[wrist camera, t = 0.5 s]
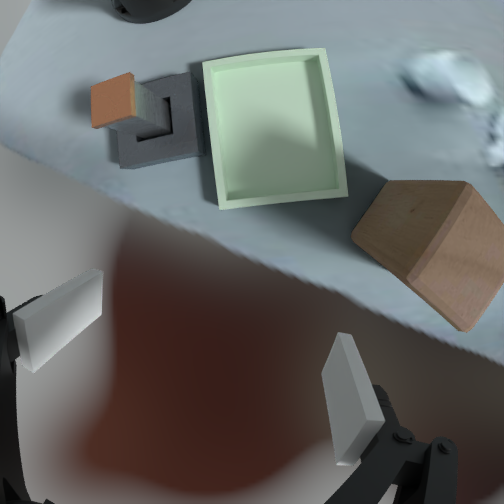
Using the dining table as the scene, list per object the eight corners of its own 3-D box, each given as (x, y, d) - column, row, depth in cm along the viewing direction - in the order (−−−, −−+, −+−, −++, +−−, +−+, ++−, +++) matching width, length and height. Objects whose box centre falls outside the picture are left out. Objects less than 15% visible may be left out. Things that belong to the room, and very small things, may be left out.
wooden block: (387, 177, 38) (469, 175, 18) (435, 221, 38) (526, 250, 19) (346, 236, 40) (401, 281, 20) (396, 276, 40) (468, 340, 21)
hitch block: (127, 99, 38) (114, 93, 34) (197, 81, 37) (190, 71, 33) (133, 169, 40) (120, 168, 36) (205, 154, 39) (198, 151, 35)
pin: (148, 113, 38) (90, 86, 24) (177, 106, 38) (129, 72, 23) (150, 143, 39) (91, 127, 25) (180, 136, 39) (131, 114, 24)
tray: (207, 69, 36) (202, 62, 33) (322, 56, 35) (324, 48, 32) (223, 208, 40) (219, 210, 38) (343, 195, 39) (348, 196, 36)
